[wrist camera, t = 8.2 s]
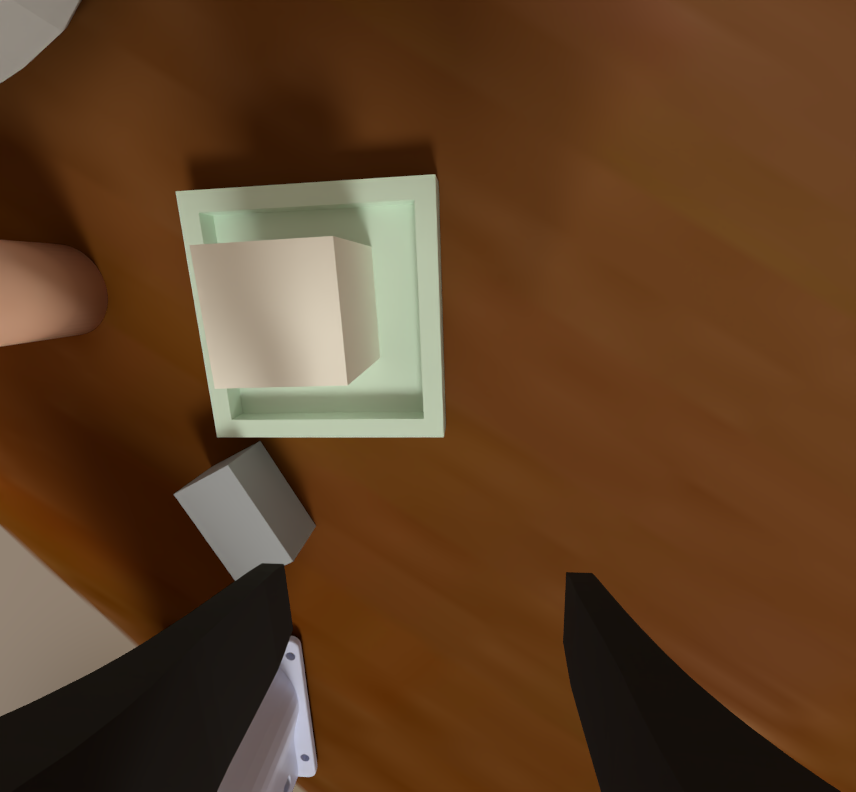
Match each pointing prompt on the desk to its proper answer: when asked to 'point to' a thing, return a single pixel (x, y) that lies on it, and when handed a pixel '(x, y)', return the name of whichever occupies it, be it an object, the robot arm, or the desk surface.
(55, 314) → the pink rounded capsule
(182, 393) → the desk surface
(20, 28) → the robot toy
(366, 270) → the cream block
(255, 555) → the slate block
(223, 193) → the tray
